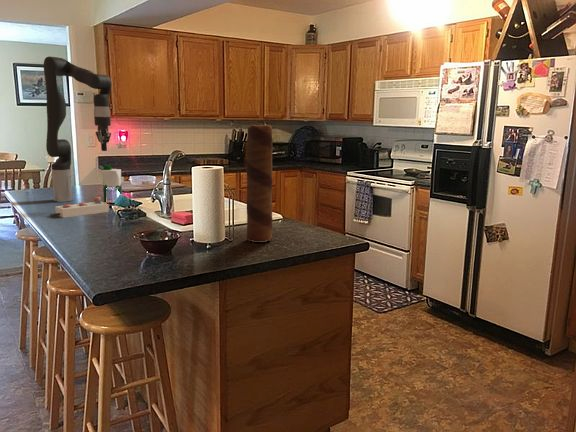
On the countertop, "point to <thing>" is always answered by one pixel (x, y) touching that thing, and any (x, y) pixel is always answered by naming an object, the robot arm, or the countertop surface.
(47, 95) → the robot arm
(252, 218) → the wafer roll
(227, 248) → the countertop surface
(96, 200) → the button
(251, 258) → the countertop surface
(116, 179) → the milk carton
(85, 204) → the button
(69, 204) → the button
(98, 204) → the button panel
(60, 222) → the countertop surface
